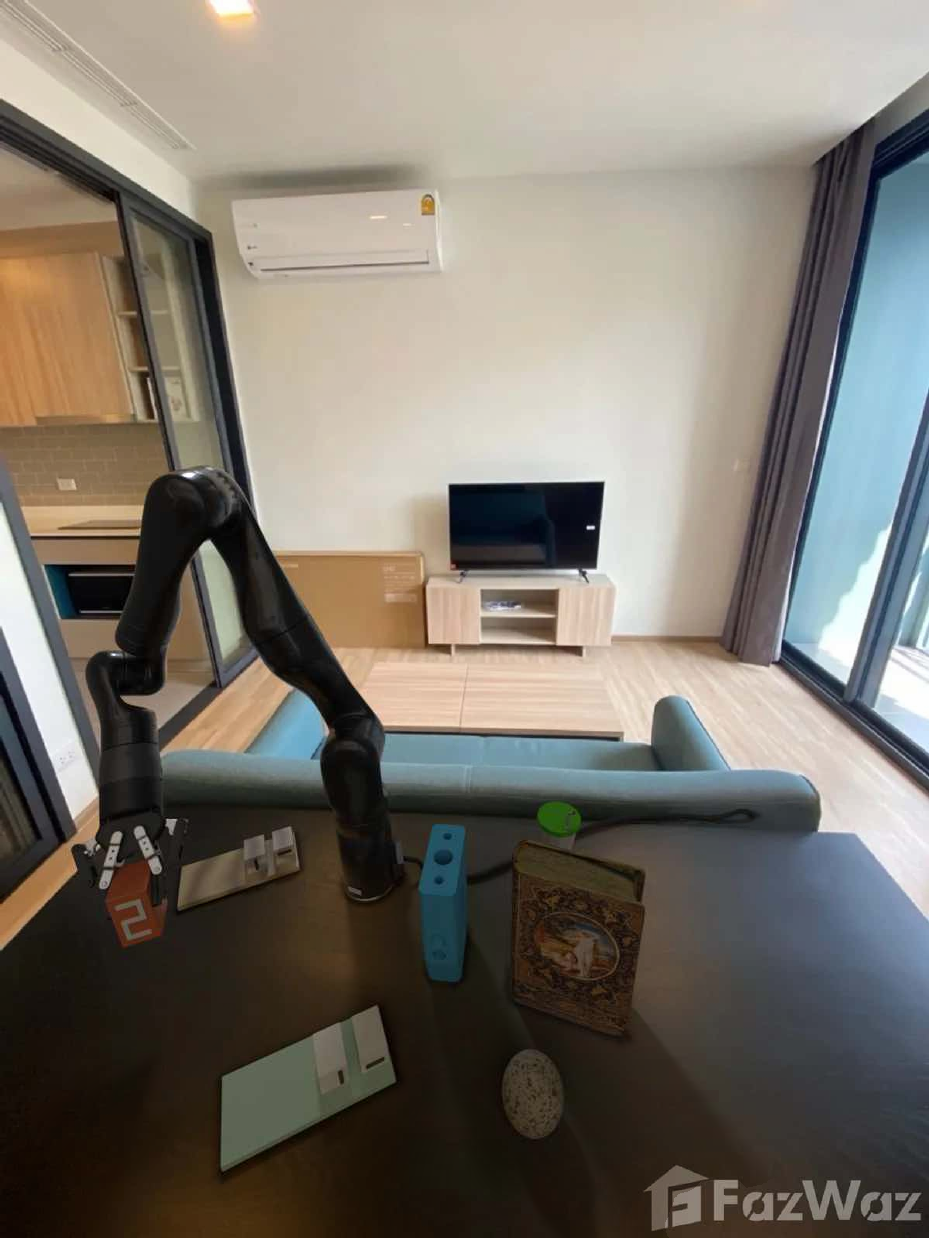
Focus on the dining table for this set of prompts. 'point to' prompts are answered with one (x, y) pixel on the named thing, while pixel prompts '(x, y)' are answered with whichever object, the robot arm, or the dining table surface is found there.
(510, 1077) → the decorative egg
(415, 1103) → the dining table surface
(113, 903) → the orange red rectangular block
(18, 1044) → the dining table surface
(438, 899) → the block
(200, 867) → the beige switch panel
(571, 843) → the cup
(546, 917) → the book
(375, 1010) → the switch panel board
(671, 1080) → the dining table surface
